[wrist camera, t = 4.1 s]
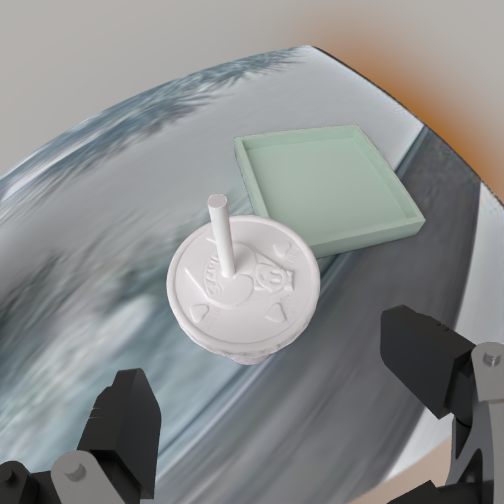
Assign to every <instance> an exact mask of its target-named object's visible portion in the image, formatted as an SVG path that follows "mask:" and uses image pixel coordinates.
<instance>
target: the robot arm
mask: <svg viewBox="0 0 504 504" xmlns="http://www.w3.org/2000/svg"><path fill="white" fill-rule="evenodd" d="M380 351H381V357H382V360H383V362H384V364H385V365H386V366H387V367H388V368H389V369H390V370H391V371H392V372H393V373H394V374H395V375H396V376H397V377H398V378H399V379H400V380H401V381H402V382H403V383H404V384H405V385H406V387H407V388H408V389H409V390H410V391H411V392H412V393H413V394H414V395H415V396H416V397H417V398H418V399H419V400H420V401H421V402H422V403H423V404H424V405H425V406H426V407H427V408H428V409H429V410H430V411H431V412H432V413H433V414H434V415H435V416H436V417H437V418H438V419H441V418H443V417H444V416H446V415H447V414H449V413H453V414H454V418H453V421H452V450H451V465H450V471H449V475H448V478H447V481H446V484H445V486H441V487H437V488H436V487H435V485H434V484H433V483H432V481H431V480H429V481H427V482H425V483H424V484H422V485H420V486H418V487H416V488H415V489H413V490H411V491H409V492H407V493H405V494H403V495H402V496H400V497H397V498H396V499H393V500H391V501H390V502H388V503H387V504H504V345H503V344H500V343H496V342H486V343H482V344H479V345H478V346H476V345H475V344H473V343H472V342H470V341H469V340H467V339H466V338H464V337H463V336H461V335H459V334H458V333H456V332H455V331H453V330H452V329H450V330H449V328H448V327H447V326H445V325H444V324H441V323H440V322H439V321H437V320H436V319H434V318H432V317H430V316H427V315H423V314H420V313H416V312H415V311H413V310H412V309H410V308H409V307H407V306H405V305H399V306H396V307H393V308H391V309H388V310H385V311H383V312H382V315H381V344H380ZM89 417H90V419H88V421H87V424H86V426H85V429H84V431H83V434H82V437H81V439H80V442H79V444H78V447H77V450H76V451H71V452H68V453H65V454H63V455H62V456H60V457H59V458H58V459H57V460H56V461H55V463H54V464H53V466H52V469H51V471H45V472H38V473H30V472H29V471H28V470H27V469H26V468H25V466H24V465H23V464H22V463H20V462H18V461H8V462H5V463H3V464H1V465H0V504H140V499H154V488H155V476H156V465H157V455H158V446H159V437H160V428H161V412H160V408H159V405H158V402H157V400H156V398H155V396H154V394H153V392H152V389H151V387H150V385H149V383H148V380H147V378H146V376H145V373H144V371H143V370H142V369H141V368H136V369H128V370H120V371H118V372H117V374H116V377H115V379H114V382H113V384H112V386H110V387H106V388H105V389H104V391H103V392H102V393H101V394H100V395H99V396H98V397H97V399H96V402H95V404H94V406H93V410H92V411H91V414H90V416H89Z"/></svg>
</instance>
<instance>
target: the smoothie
mask: <svg viewBox="0 0 504 504" xmlns="http://www.w3.org/2000/svg"><path fill="white" fill-rule="evenodd" d="M207 202H208V208H209V213H210V218H211V222H209V223H207V224H205V225H204V226H202V227H200V228H199V229H197V230H196V231H194V232H193V233H192V234H191V235H189V236H188V237H187V238H186V239H185V240H184V242H183V243H182V244H181V245H180V247H179V248H178V249H177V251H176V253H175V254H174V256H173V258H172V261H171V263H170V266H169V270H168V275H167V295H168V299H169V303H170V306H171V309H172V311H173V313H174V315H175V316H176V318H177V320H178V322H179V324H180V326H181V328H182V329H183V330H184V331H185V332H186V333H187V335H188V336H189V337H190V338H191V339H192V340H193V341H194V342H195V343H197V344H199V345H200V346H202V347H203V348H205V349H207V350H208V351H210V352H212V353H215V354H219V355H222V356H226V357H229V358H230V359H232V360H233V361H235V362H237V363H239V364H243V365H254V364H258V363H260V362H262V361H264V360H265V359H266V358H268V357H269V356H270V355H271V354H272V353H275V352H277V351H278V350H280V349H282V348H283V347H285V346H287V345H289V344H290V343H292V342H293V341H294V340H295V339H296V338H297V337H298V336H299V335H300V334H301V333H302V332H303V331H304V330H305V329H306V327H307V326H308V324H309V322H310V320H311V318H312V316H313V314H314V312H315V310H316V305H317V301H318V297H319V292H320V273H319V268H318V264H317V261H316V258H315V256H314V254H313V252H312V251H311V249H310V247H309V246H308V245H307V243H306V242H305V241H304V240H303V239H302V238H301V237H300V236H299V235H298V234H297V233H296V232H295V231H293V230H292V229H291V228H289V227H287V226H286V225H284V224H282V223H280V222H278V221H275V220H273V219H269V218H266V217H262V216H255V215H234V216H229V213H228V205H227V198H226V197H225V196H224V195H223V194H214V195H212V196H210V197H209V198H208V201H207Z"/></svg>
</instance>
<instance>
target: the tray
mask: <svg viewBox="0 0 504 504" xmlns="http://www.w3.org/2000/svg"><path fill="white" fill-rule="evenodd" d="M234 143H235V155H236V158H237V161H238V164H239V167H240V170H241V173H242V176H243V180H244V183H245V186H246V189H247V192H248V195H249V198H250V201H251V204H252V208H253V211H254V214H255V216H262V217H266V218H269V219H273V220H275V221H278V222H280V223H282V224H284V225H286V226H287V227H289V228H291V229H292V230H293V231H295V232H296V233H297V234H298V235H299V236H300V237H301V238H302V239H303V240H304V241H305V242H306V243H307V245H308V246H309V247H310V249H311V251H312V252H313V254H314V256H315V258H316V259H318V258H322V257H326V256H331V255H335V254H339V253H344V252H348V251H352V250H356V249H360V248H365V247H369V246H373V245H377V244H381V243H385V242H389V241H394V240H398V239H402V238H406V237H410V236H414V235H416V234H417V233H418V231H419V230H420V228H421V227H422V225H423V224H424V222H425V221H426V220H425V218H424V217H423V215H422V214H421V212H420V210H419V209H418V207H417V206H416V204H415V203H414V201H413V199H412V198H411V196H410V195H409V193H408V192H407V190H406V189H405V187H404V186H403V185H402V183H401V182H400V180H399V179H398V177H397V176H396V174H395V173H394V172H393V170H392V169H391V168H390V166H389V165H388V163H387V162H386V161H385V159H384V158H383V157H382V155H381V154H380V153H379V151H378V150H377V149H376V147H375V146H374V145H373V144H372V142H371V141H370V140H369V139H368V137H367V136H366V135H365V134H364V132H363V131H362V130H361V129H360V128H359V126H358V125H347V126H331V127H318V128H306V129H296V130H287V131H278V132H270V133H263V134H255V135H248V136H242V137H236V138H234Z"/></svg>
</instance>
